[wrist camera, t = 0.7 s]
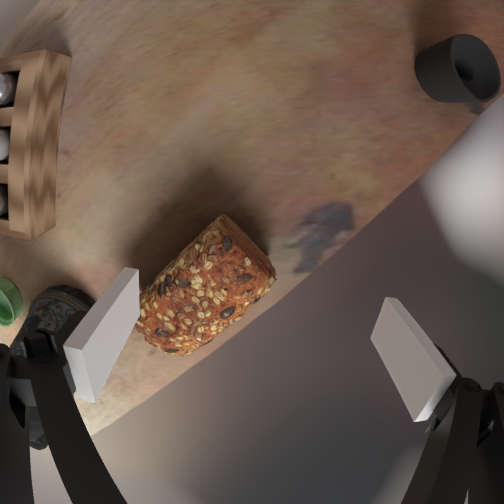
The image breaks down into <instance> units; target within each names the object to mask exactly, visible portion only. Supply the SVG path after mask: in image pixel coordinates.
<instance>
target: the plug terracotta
mask: <svg viewBox="0 0 504 504" xmlns="http://www.w3.org/2000/svg"><path fill="white" fill-rule="evenodd" d="M10 134H11V130H9V129H6V130H0V160H5V159H8V158H9V146H10Z"/></svg>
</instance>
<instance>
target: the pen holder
mask: <svg viewBox="0 0 504 504" xmlns="http://www.w3.org/2000/svg"><path fill="white" fill-rule="evenodd" d="M415 67H416V75H417V78H418V81H419V83H420V85H421V87H422V88H423V89H424V91H425V92H426V93H427V94H428V95H429V96H430V97H432V98H433V99H435V100H437V101H440V102H477V103H483V102H487V101H489V100H491V99H493V98H494V97H495V96H496V95H497V94H498V92H499V90H500V86H501V76H500V71H499V67H498V64H497V61H496V59H495V57H494V55H493V53H492V52H491V50H490V49H489V48H488V46H487V45H486V44H485V43H484V42H483V41H482V40H480V39H479V38H477V37H475V36H472V35H467V34H457V35H455V36H453V37H450V38H448V39H446V40H444V41H442V42H440V43H437V44H435V45H433V46H431V47H429V48H427V49H425V50H424V51H422V52H421V53H420V54H419V55H418V57H417V60H416V65H415Z"/></svg>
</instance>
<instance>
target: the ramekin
mask: <svg viewBox="0 0 504 504" xmlns="http://www.w3.org/2000/svg"><path fill="white" fill-rule="evenodd" d="M22 309H23V301H22V297H21V295H20V292H19V291H18V289H17V288H16V286H15V285H14V284H13V283H12V282H11V281H9V280H8V279H5V278H1V279H0V325H1V326H4V327H9V326H11V325H12V324H13V323H14V321H15V319H16V318H17V317H18V316H19V314H20V313H21V312H22Z"/></svg>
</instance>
